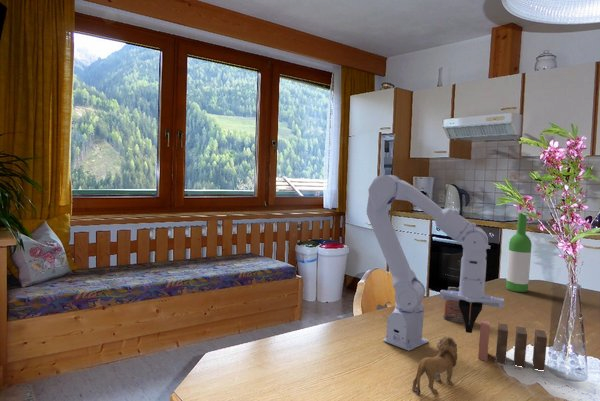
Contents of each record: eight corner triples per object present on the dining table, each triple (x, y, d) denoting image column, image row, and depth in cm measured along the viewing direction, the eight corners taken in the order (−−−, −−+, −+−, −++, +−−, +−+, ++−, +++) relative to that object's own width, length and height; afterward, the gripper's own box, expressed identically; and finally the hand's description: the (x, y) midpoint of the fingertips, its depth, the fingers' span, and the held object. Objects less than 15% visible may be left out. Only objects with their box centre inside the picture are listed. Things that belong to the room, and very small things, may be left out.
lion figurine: (437, 370, 98) (440, 331, 98) (460, 378, 95) (463, 338, 94) (406, 394, 87) (408, 350, 87) (431, 404, 84) (434, 358, 83)
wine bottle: (513, 286, 175) (519, 212, 173) (532, 291, 169) (538, 214, 166) (501, 288, 172) (507, 212, 169) (519, 293, 165) (526, 214, 163)
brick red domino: (478, 359, 105) (480, 326, 105) (478, 351, 110) (481, 320, 109) (487, 360, 105) (489, 328, 104) (487, 352, 109) (489, 321, 108)
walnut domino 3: (534, 370, 101) (537, 336, 100) (532, 361, 105) (535, 329, 105) (544, 372, 100) (547, 337, 99) (541, 363, 104) (544, 330, 104)
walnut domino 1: (496, 362, 104) (498, 329, 103) (495, 354, 108) (498, 323, 108) (505, 364, 103) (508, 331, 102) (504, 356, 108) (507, 324, 107)
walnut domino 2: (514, 366, 102) (517, 332, 102) (513, 358, 107) (516, 326, 106) (524, 368, 101) (527, 334, 101) (523, 359, 106) (525, 327, 105)
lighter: (469, 318, 134) (471, 286, 134) (472, 322, 131) (474, 289, 130) (442, 316, 135) (444, 284, 134) (444, 320, 132) (447, 287, 131)
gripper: (439, 276, 106) (436, 331, 107) (505, 285, 101) (501, 342, 102) (442, 271, 113) (439, 322, 114) (504, 278, 107) (500, 332, 108)
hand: (468, 331), depth 108 cm, fingers closed
